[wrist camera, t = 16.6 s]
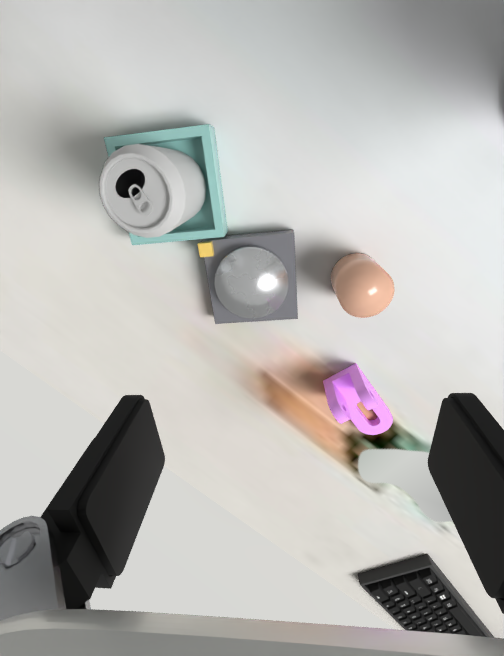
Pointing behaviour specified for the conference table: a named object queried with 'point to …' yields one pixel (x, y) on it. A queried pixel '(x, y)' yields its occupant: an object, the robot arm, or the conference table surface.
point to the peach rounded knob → (361, 285)
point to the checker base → (273, 241)
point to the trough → (204, 152)
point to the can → (151, 189)
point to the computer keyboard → (422, 598)
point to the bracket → (356, 400)
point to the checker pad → (251, 282)
